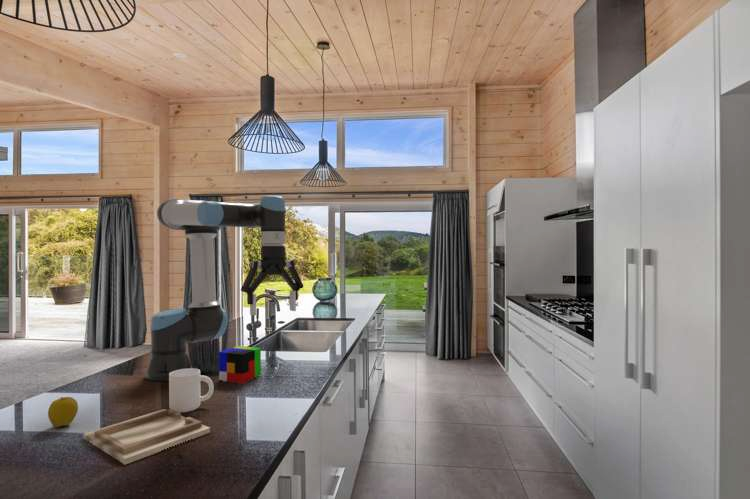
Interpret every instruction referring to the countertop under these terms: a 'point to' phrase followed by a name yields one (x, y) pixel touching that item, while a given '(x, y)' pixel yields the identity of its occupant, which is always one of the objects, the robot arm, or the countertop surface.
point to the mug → (187, 389)
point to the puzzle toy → (239, 364)
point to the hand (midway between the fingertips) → (273, 312)
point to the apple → (62, 411)
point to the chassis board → (146, 435)
